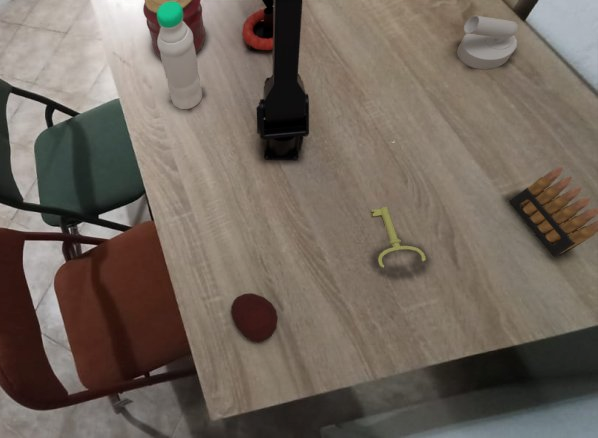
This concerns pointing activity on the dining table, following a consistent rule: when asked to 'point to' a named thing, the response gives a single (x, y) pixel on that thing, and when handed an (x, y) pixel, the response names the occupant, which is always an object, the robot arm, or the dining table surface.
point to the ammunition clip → (555, 213)
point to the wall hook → (487, 42)
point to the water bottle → (178, 56)
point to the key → (392, 235)
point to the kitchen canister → (190, 17)
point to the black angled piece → (264, 26)
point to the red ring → (251, 37)
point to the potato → (254, 316)
